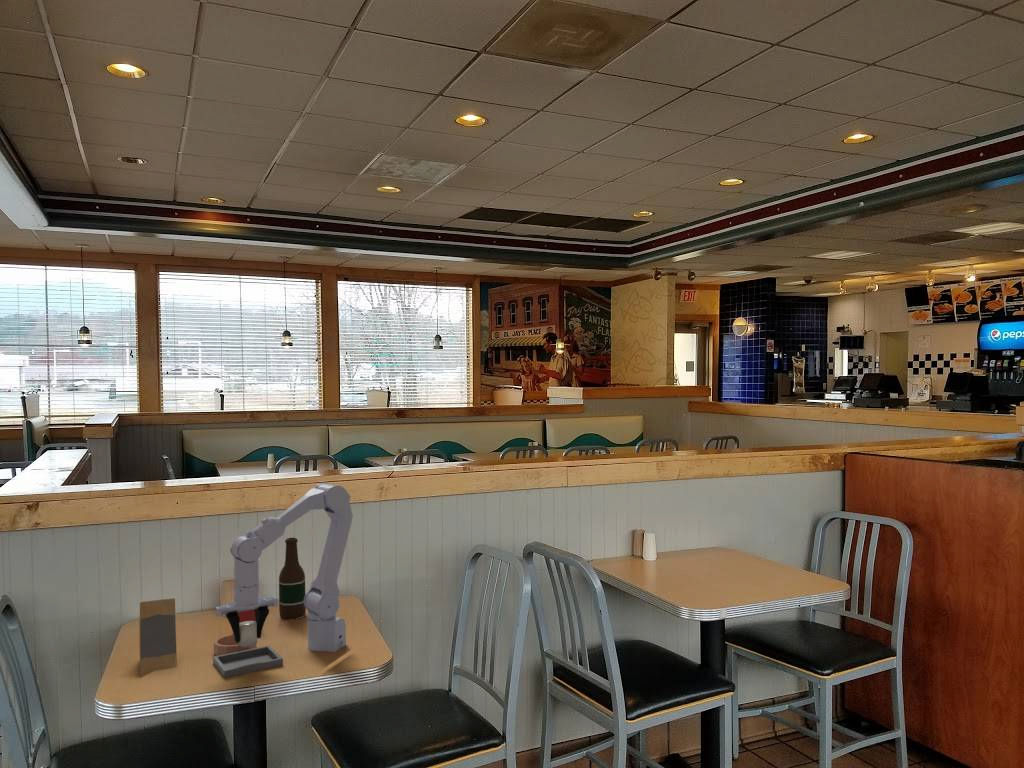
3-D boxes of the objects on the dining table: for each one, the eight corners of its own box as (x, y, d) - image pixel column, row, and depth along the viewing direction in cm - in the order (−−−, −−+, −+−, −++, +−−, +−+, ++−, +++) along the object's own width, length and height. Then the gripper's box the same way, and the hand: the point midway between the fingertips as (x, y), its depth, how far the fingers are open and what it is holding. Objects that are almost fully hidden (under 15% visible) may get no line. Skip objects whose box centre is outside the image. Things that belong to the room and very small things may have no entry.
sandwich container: (139, 679, 181) (138, 617, 181) (139, 659, 195) (139, 602, 195) (178, 672, 185) (177, 612, 185) (175, 653, 199) (175, 597, 199)
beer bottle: (279, 614, 233) (278, 537, 233) (305, 611, 235) (304, 535, 235) (279, 621, 225) (278, 541, 225) (306, 618, 227) (304, 539, 228)
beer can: (251, 631, 216) (250, 590, 216) (230, 630, 217) (229, 589, 217) (263, 624, 222) (262, 584, 222) (243, 623, 223) (242, 583, 223)
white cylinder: (261, 641, 188) (260, 621, 189) (250, 647, 184) (249, 627, 184) (245, 640, 190) (245, 620, 190) (234, 646, 185) (234, 625, 185)
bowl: (264, 648, 201) (264, 634, 201) (240, 662, 191) (239, 647, 191) (231, 645, 204) (231, 631, 204) (205, 659, 194) (205, 644, 194)
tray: (269, 655, 196) (269, 645, 196) (283, 669, 186) (282, 658, 186) (213, 667, 188) (213, 656, 188) (224, 682, 178) (224, 671, 178)
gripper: (220, 593, 180) (221, 649, 180) (280, 583, 188) (281, 637, 188) (213, 587, 186) (214, 642, 185) (272, 578, 194) (273, 630, 194)
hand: (247, 639), depth 187 cm, fingers closed on white cylinder, 4 cm apart
